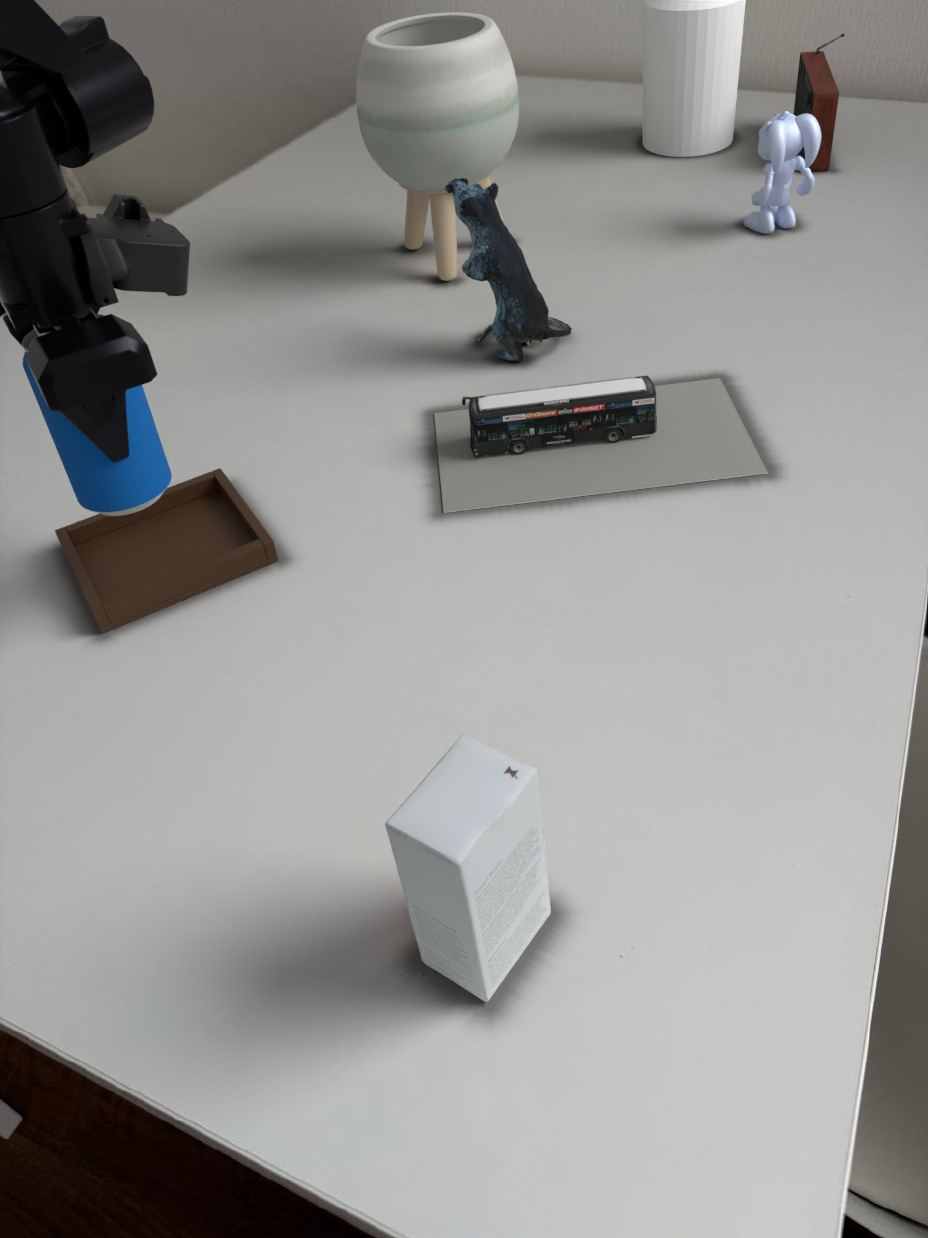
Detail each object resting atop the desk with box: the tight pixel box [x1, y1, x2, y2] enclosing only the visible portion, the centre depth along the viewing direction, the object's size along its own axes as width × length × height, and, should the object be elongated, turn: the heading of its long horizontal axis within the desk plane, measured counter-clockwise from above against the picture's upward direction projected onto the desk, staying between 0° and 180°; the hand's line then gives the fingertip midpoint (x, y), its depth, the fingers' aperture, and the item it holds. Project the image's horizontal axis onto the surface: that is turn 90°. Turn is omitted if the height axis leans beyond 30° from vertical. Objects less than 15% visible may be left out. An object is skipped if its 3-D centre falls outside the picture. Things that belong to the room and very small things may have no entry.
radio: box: [793, 33, 845, 172], centre depth 121 cm, size 19×3×15 cm, turn 172°
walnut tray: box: [54, 467, 280, 634], centre depth 78 cm, size 14×12×2 cm
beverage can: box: [22, 313, 173, 516], centre depth 68 cm, size 6×6×12 cm
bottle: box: [642, 0, 747, 158], centre depth 124 cm, size 12×12×25 cm
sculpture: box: [445, 178, 573, 362], centre depth 93 cm, size 8×11×15 cm
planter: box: [355, 11, 520, 282], centre depth 106 cm, size 16×16×22 cm
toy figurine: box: [743, 110, 821, 235], centre depth 107 cm, size 7×6×12 cm
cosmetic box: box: [384, 734, 552, 1003], centre depth 49 cm, size 6×4×12 cm
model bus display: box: [433, 375, 769, 514], centre depth 83 cm, size 14×25×4 cm, turn 94°
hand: (107, 435), depth 69 cm, fingers closed on beverage can, 6 cm apart
